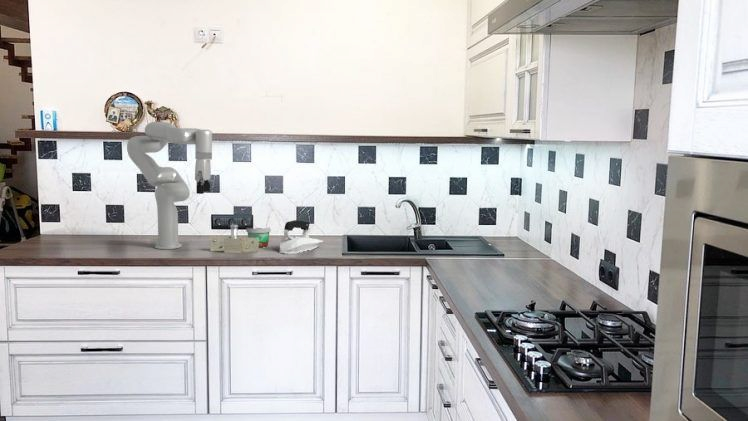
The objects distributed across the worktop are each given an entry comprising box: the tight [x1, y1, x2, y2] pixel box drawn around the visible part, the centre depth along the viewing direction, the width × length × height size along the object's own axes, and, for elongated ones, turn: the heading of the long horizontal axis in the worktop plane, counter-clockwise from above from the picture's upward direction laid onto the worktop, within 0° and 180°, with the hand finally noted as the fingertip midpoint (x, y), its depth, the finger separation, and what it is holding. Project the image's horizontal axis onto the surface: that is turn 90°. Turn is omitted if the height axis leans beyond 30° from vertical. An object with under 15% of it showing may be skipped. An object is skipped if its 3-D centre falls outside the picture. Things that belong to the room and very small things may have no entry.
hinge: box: [209, 235, 260, 254], centre depth 313 cm, size 24×8×7 cm, turn 85°
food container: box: [245, 226, 272, 249], centre depth 324 cm, size 12×6×10 cm, turn 105°
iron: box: [279, 219, 324, 255], centre depth 319 cm, size 11×24×15 cm, turn 145°
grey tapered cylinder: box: [229, 224, 239, 238], centre depth 313 cm, size 4×4×13 cm
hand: (203, 192), depth 306 cm, fingers open, 9 cm apart
